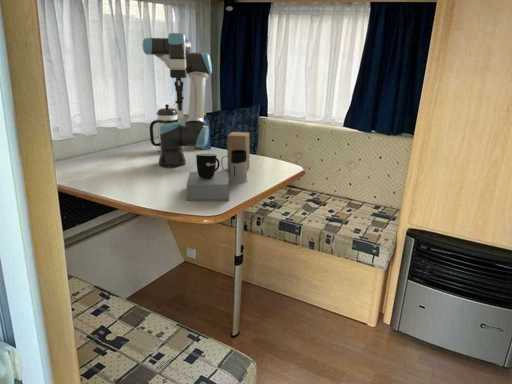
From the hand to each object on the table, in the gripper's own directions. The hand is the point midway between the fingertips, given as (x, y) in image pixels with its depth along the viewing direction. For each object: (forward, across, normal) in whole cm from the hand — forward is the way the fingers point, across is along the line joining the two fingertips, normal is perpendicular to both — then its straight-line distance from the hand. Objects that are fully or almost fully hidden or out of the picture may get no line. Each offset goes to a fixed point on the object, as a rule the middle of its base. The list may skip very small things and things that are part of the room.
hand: (180, 115), depth 198 cm
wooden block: (+33, -15, +30) cm, 47 cm away
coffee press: (+33, -61, -9) cm, 70 cm away
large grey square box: (+33, +21, +11) cm, 41 cm away
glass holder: (+33, +5, +25) cm, 42 cm away
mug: (+25, +20, +11) cm, 34 cm away
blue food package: (+33, -70, +13) cm, 79 cm away
